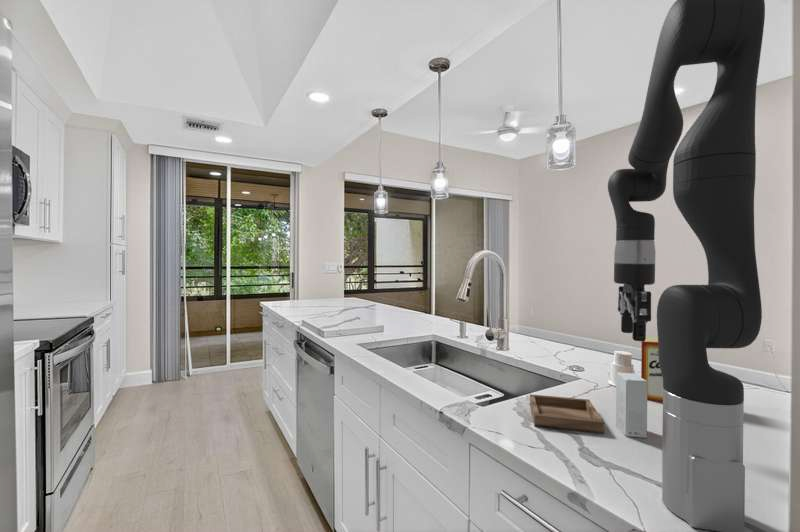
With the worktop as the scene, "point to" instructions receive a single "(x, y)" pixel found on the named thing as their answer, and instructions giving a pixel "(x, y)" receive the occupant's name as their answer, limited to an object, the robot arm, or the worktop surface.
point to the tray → (565, 414)
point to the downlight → (620, 365)
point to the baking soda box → (651, 369)
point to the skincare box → (631, 404)
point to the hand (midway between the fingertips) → (632, 336)
